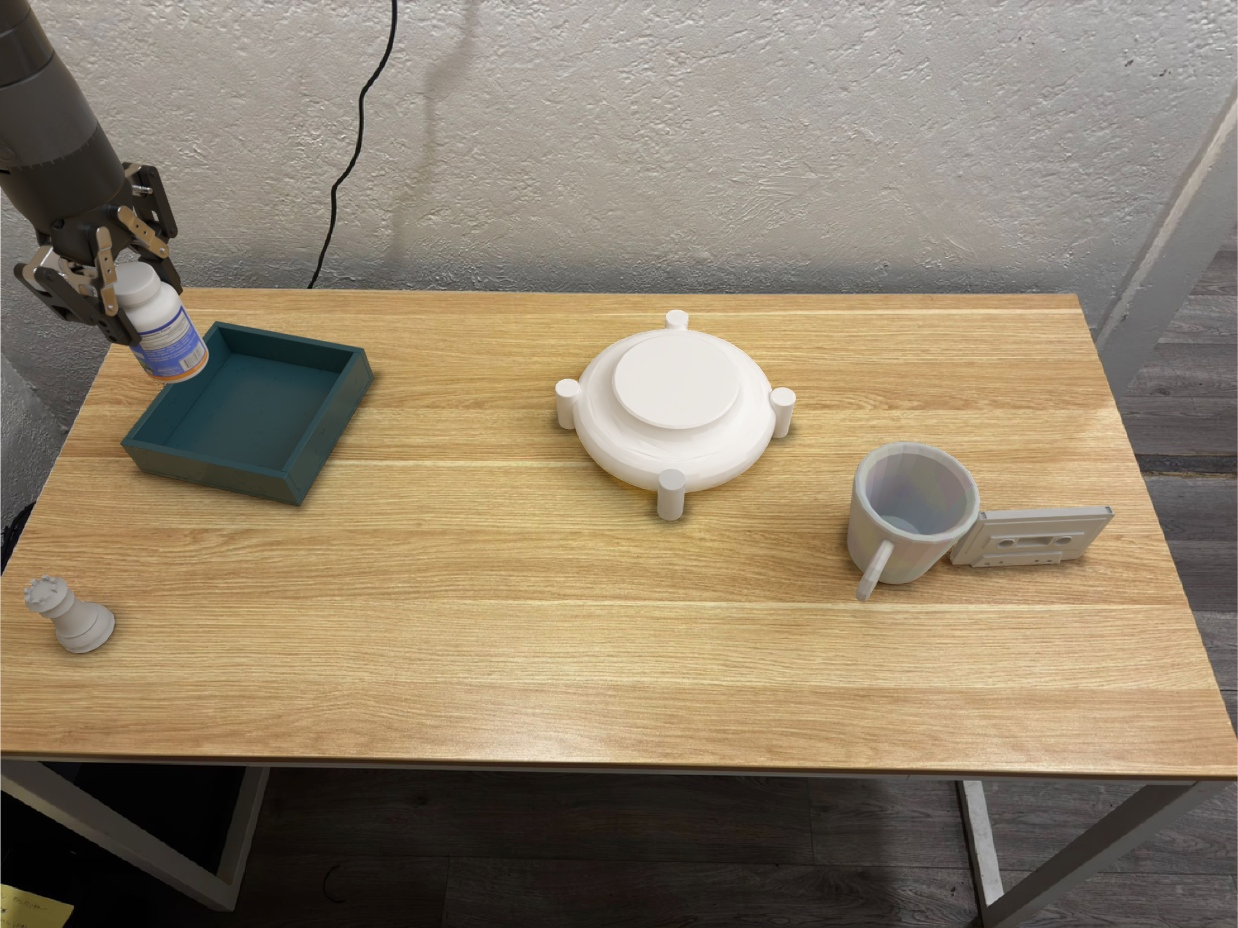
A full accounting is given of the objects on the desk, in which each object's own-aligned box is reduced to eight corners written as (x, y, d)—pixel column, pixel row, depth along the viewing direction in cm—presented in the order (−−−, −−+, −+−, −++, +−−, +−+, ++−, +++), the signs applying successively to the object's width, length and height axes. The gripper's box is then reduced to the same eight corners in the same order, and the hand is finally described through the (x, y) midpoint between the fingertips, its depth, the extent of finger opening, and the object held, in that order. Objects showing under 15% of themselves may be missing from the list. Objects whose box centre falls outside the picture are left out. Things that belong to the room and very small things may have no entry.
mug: (961, 535, 79) (999, 473, 71) (901, 660, 71) (935, 606, 63) (858, 486, 82) (883, 422, 74) (791, 600, 75) (810, 542, 67)
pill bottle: (142, 353, 74) (86, 267, 66) (204, 333, 76) (156, 247, 68) (152, 394, 71) (94, 308, 64) (216, 372, 73) (167, 286, 65)
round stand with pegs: (545, 515, 81) (539, 471, 75) (569, 339, 95) (565, 291, 89) (795, 527, 80) (808, 483, 74) (781, 347, 94) (791, 299, 88)
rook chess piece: (73, 665, 72) (19, 624, 65) (57, 629, 74) (2, 585, 68) (125, 635, 74) (76, 591, 67) (107, 600, 76) (59, 554, 69)
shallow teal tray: (299, 506, 82) (284, 479, 78) (141, 471, 84) (119, 443, 81) (374, 377, 92) (364, 347, 88) (231, 350, 94) (215, 320, 91)
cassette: (1073, 546, 78) (1111, 500, 72) (1080, 564, 77) (1120, 518, 71) (946, 552, 78) (973, 506, 72) (951, 570, 77) (979, 524, 70)
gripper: (55, 69, 60) (160, 256, 74) (-93, 184, 52) (56, 371, 66) (146, 81, 59) (236, 269, 73) (10, 201, 51) (140, 388, 64)
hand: (150, 317), depth 69 cm, fingers closed on pill bottle, 5 cm apart
